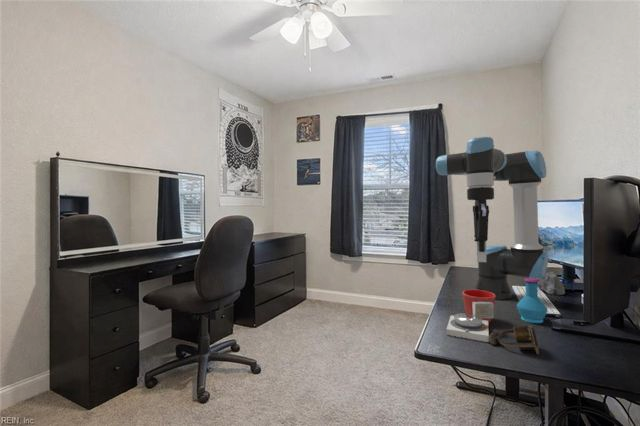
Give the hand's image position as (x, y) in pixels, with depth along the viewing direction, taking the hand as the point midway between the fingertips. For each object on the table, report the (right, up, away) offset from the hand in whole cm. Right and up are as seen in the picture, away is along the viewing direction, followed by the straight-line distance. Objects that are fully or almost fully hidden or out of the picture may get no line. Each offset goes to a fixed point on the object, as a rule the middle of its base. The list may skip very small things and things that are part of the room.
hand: (481, 261), depth 96 cm
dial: (+1, -22, +6) cm, 22 cm away
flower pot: (+8, -24, +16) cm, 30 cm away
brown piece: (+7, -25, -6) cm, 26 cm away
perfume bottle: (+26, -24, +15) cm, 38 cm away
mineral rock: (+60, -23, +50) cm, 81 cm away
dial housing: (-1, -24, +6) cm, 25 cm away
